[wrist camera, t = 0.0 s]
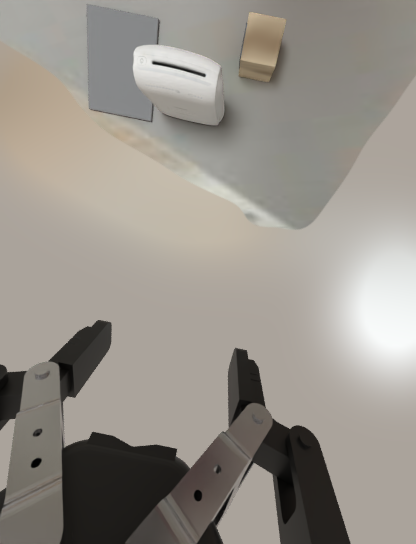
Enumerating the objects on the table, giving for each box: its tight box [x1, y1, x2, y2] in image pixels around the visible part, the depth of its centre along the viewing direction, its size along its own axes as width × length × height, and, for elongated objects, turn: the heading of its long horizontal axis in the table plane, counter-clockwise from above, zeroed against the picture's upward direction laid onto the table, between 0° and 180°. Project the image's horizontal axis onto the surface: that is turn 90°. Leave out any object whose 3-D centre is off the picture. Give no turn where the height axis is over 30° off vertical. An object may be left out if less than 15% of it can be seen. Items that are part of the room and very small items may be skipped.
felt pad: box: [87, 4, 159, 122], centre depth 32 cm, size 12×10×1 cm
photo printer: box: [133, 45, 225, 125], centre depth 28 cm, size 10×4×12 cm, turn 78°
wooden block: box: [239, 12, 286, 82], centre depth 29 cm, size 4×5×4 cm
